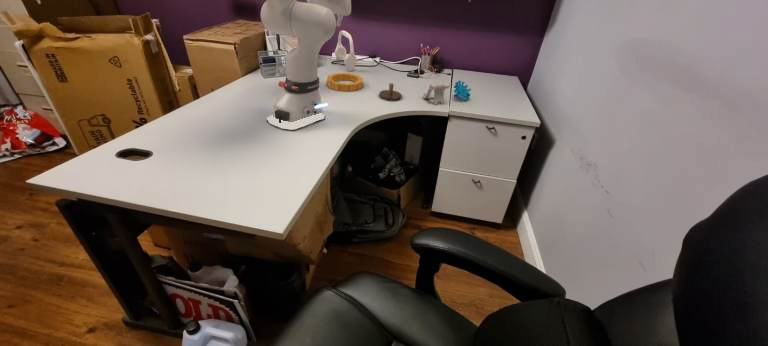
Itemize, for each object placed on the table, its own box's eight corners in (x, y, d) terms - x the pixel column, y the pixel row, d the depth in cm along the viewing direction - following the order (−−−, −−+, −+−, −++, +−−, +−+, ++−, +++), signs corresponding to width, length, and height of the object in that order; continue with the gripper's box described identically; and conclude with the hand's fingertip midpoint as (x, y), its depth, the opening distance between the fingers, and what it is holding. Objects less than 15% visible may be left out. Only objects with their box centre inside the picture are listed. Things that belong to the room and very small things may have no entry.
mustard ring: (350, 93, 146) (350, 87, 145) (320, 85, 152) (320, 79, 151) (368, 84, 159) (368, 78, 157) (340, 76, 165) (340, 70, 163)
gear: (459, 100, 146) (453, 79, 147) (450, 105, 151) (444, 85, 152) (475, 99, 152) (469, 79, 153) (466, 104, 157) (460, 85, 158)
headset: (357, 71, 173) (359, 36, 163) (345, 72, 170) (345, 36, 160) (344, 60, 187) (344, 27, 177) (332, 61, 185) (332, 27, 174)
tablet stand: (439, 96, 152) (442, 79, 147) (447, 103, 146) (451, 85, 141) (422, 98, 149) (425, 80, 144) (430, 104, 143) (433, 86, 138)
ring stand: (395, 102, 142) (396, 89, 139) (375, 97, 146) (376, 84, 142) (404, 96, 149) (406, 83, 146) (385, 90, 153) (386, 78, 150)
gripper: (302, -17, 130) (304, 20, 138) (344, -10, 123) (344, 29, 131) (312, -17, 135) (314, 19, 143) (353, -11, 128) (352, 27, 136)
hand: (328, 24), depth 137 cm, fingers open, 8 cm apart
